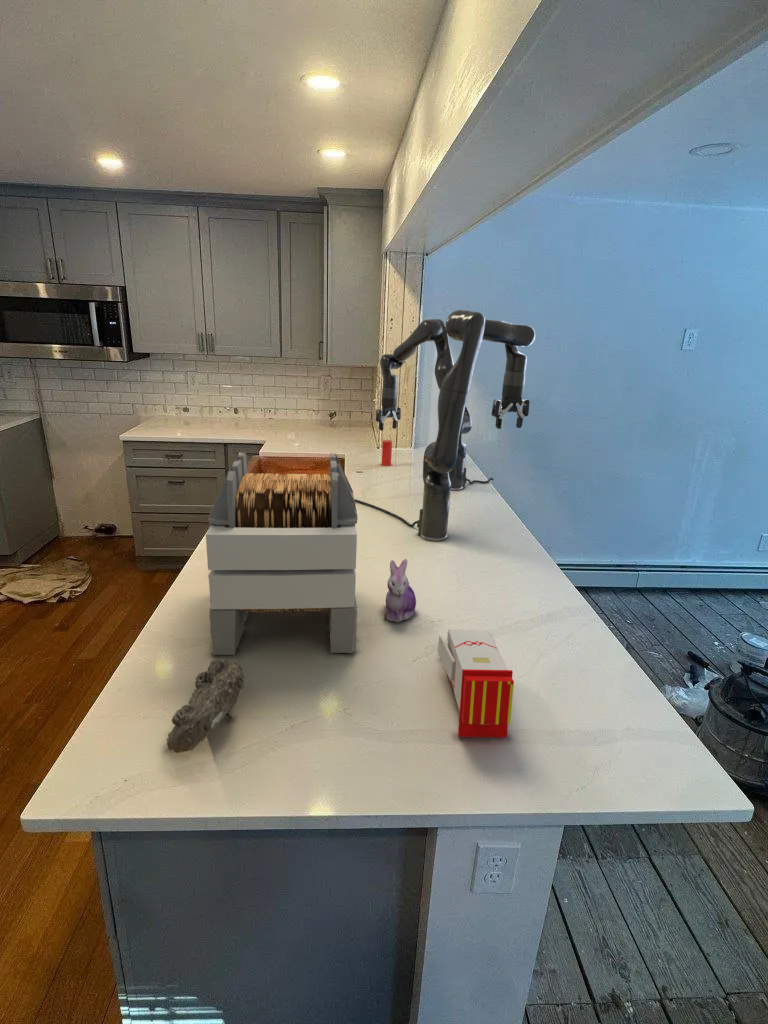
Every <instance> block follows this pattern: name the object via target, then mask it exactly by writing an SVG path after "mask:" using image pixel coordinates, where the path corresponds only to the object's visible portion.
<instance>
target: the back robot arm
mask: <svg viewBox="0 0 768 1024" xmlns="http://www.w3.org/2000/svg"><path fill="white" fill-rule="evenodd" d="M426 342H429V343H431V342H433V343H434V344H435V349H436V361H435V364H434V365H435V366H434V377H435V381H436V385H437V387H438V389H439V390H440V388H441V383H442V381H443V379H444V377H445V376H446V374H447V373H448V372H449V371H450V369H451V368H452V367H453V366H454V364H455V363H454V359H453V354H452V351H451V347H450V340H449V336H448V334H447V332H446V323H445V322H444V320H442V319H441V318H428V319H424V320H422V321H421V322H420V323H419V324H418V325H417V327H416V328H415V329H414V330H413V331H412V333H411V334H410V335H409V336H408V337H407V338H406V339H405V340H404V341H403V342H401V344H399V345H398V346H397V347H395V349H394V350H393V352H392V353H385V354H383V355H382V356H381V357H380V360H379V365H380V370H381V375H382V390H381V402H380V403H381V404H380V405H381V409H379V408H377V409H376V410H375V411H376V412H375V422H376V423H378V430H379V431H384V428H385V427H384V426H385V425H384V424H385V423H384V422H385V421H386V420H387V419H389V418H391V419H392V424H391V425H392V427H391V428H392V429H394V430H396V429H397V427H398V421H400V420H401V419H402V415H401V414H402V413H401V412H402V408H401V407H398V375H396V374H393V373H392V371H391V370H398V369H401V368H402V366H403V365H404V364H405V362H406V360H408V359H409V358H411V357H412V356H413V355H414V354H415V353H416V351H417V348H418V347H419V346H421V345H422V344H424V343H426ZM472 428H473V421H472V417H471V413H470V411H469V408H468V406H467V405H466V407H465V412H464V416H463V421H462V425H461V429H460V434H459V442H458V451H457V460H456V463H455V466H454V467H453V469H452V470H451V471H449V478H450V481H451V491H461V490H463V489H465V488H466V484H467V482H468V483H469V484H470V485H472V484H474V483H479V484H488V483H490V482H491V481H494V478H493V477H489V478H488V479H487V480H485V481H483V480H477V479H473V480H470V479H469V478H467V476H466V475H467V467H466V456H467V444H466V443H465V442H463V441H462V437H463V436H462V435H467V434H469V433H470V432H471V431H472Z"/></svg>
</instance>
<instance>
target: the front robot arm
mask: <svg viewBox="0 0 768 1024" xmlns="http://www.w3.org/2000/svg"><path fill="white" fill-rule="evenodd" d="M445 326H446V332H447V334H448V338H451V339H452V340H454V341H457V342H462V345H461V350H460V352H459V355H458V358H457V360H456V361H455V363H454V366H453V367H452V368H451V369H450V371H449V372H448V373H447V374H446V376H445V377H444V379H443V381H442V383H441V388H440V389H439V393H438V399H437V421H438V424H437V425H438V427H437V429H438V430H437V436H436V440H435V441H433V442H431V443H429V444H428V445H427V446H426V448H425V450H424V453H423V459H422V460H423V461H422V481H423V493H422V496H423V497H422V506H421V508H420V509H419V516H418V520H416V521H413V522H412V524H411V523H409V522H408V521H407V520H406V519H404V518H403V517H401V516H399V515H398V514H395V513H393V512H391V511H389V510H386V509H383V508H382V507H380V506H377V505H374V504H371V503H368V502H365V501H362V500H359V499H356V498H354V501H355V503H359V504H362V505H365V506H367V507H370V508H374V509H376V510H378V511H381V512H384V513H385V514H388V515H390V516H392V517H395V518H396V519H398V520H400V521H402V522H403V523H404V524H405V525H407V526H408V527H409V528H413V527H415V526H416V528H418V530H417V535H418V536H420V538H421V539H424V540H426V541H432V542H440V541H444V540H446V539H447V538H448V525H449V517H450V516H449V514H450V504H451V494H452V493H451V491H452V490H451V481H450V478H449V471H451V470H452V469H453V467H454V466H455V463H456V460H457V451H458V442H459V434H460V429H461V425H462V421H463V416H464V412H465V407H466V406H467V403H468V398H469V394H470V393H469V392H470V388H471V382H472V379H473V373H474V369H475V365H476V361H477V358H478V355H479V351H480V349H481V344H482V342H483V341H487V342H491V343H495V344H502V345H504V349H505V356H506V357H505V358H506V360H505V361H506V362H505V370H504V375H503V381H502V390H501V399H500V400H499V399H493V403H492V409H491V417H494V418H495V428H496V429H498V430H501V429H502V425H503V424H502V423H503V417H504V416H505V415H506V414H507V413H511V412H512V413H515V414H516V416H517V417H516V424H515V427H516V428H517V429H521V428H522V427H523V423H524V422H523V421H524V418H525V417H528V416H529V413H530V400H529V399H526V398H524V399H523V397H524V391H525V383H526V371H527V370H526V369H527V361H528V357H527V354H524V353H522V352H520V351H519V348H518V347H523V348H526V347H529V346H531V345H532V344H533V343H534V342H535V339H536V332H535V329H534V328H533V326H530V325H527V324H516V323H511V322H507V321H503V320H495V319H486V318H485V316H484V315H483V313H482V312H479V311H473V310H466V309H457V310H454V311H452V312H451V313H450V314H449V315H448V316H447V318H446V321H445Z"/></svg>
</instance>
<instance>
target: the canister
mask: <svg viewBox="0 0 768 1024" xmlns="http://www.w3.org/2000/svg"><path fill="white" fill-rule="evenodd" d="M392 453H393V441H392V440H391V439H383V440H382V442H381V466H383V467H384V466H385V467H390V466H392V456H393V455H392Z"/></svg>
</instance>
